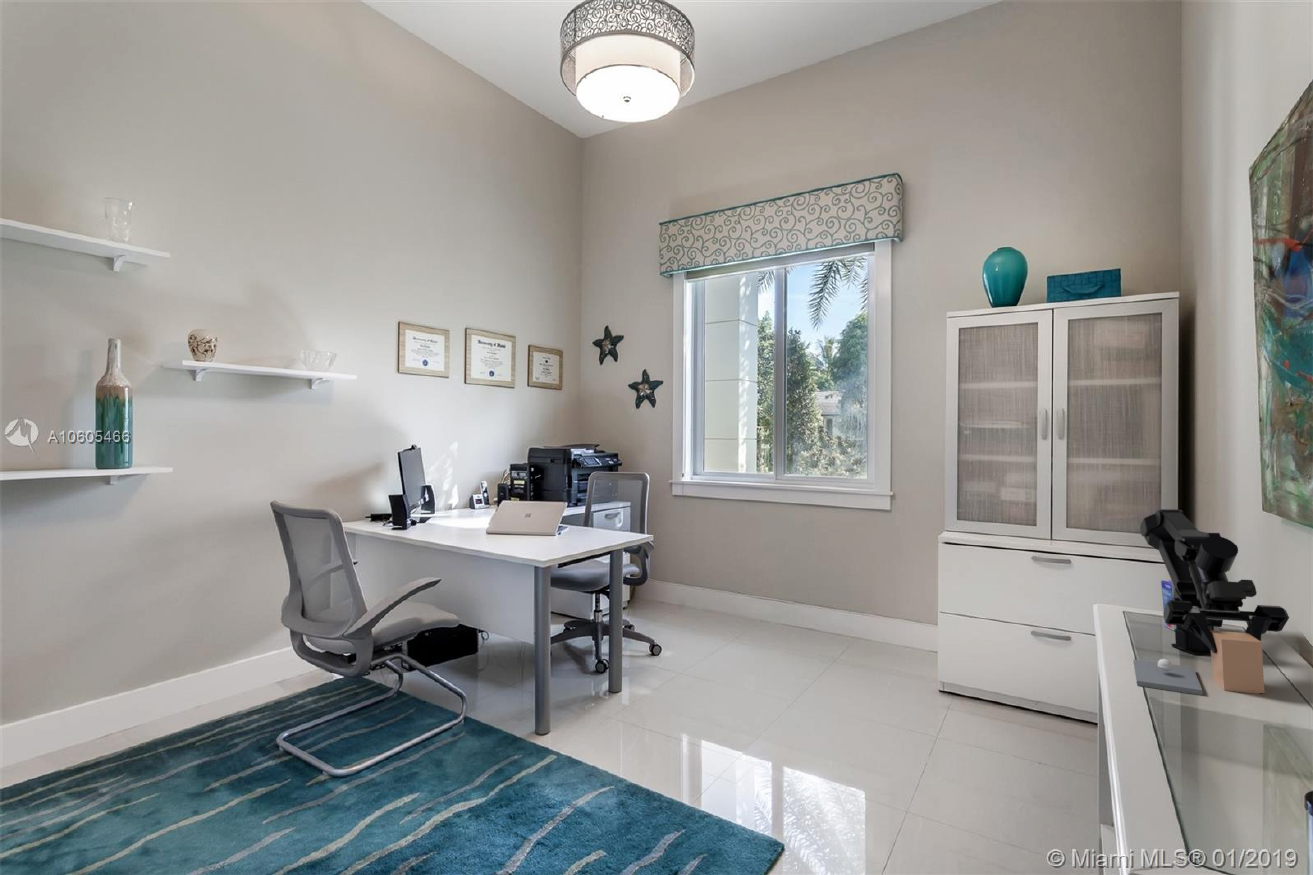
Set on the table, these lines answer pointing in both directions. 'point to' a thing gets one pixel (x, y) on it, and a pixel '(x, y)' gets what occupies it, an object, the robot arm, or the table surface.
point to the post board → (1167, 676)
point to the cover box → (1237, 662)
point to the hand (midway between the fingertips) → (1236, 653)
